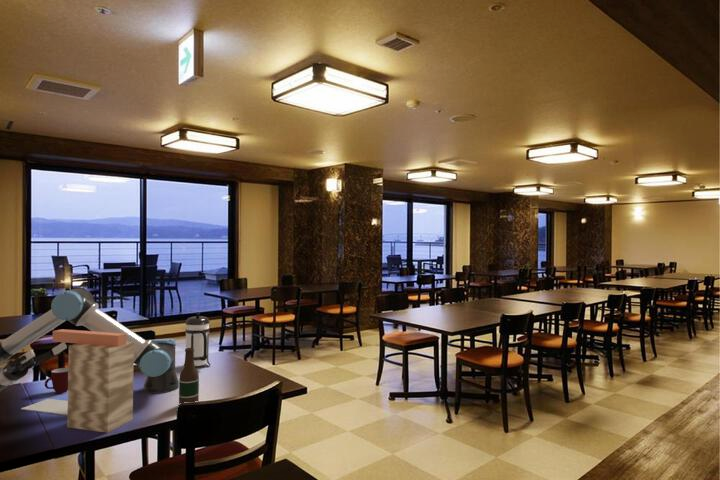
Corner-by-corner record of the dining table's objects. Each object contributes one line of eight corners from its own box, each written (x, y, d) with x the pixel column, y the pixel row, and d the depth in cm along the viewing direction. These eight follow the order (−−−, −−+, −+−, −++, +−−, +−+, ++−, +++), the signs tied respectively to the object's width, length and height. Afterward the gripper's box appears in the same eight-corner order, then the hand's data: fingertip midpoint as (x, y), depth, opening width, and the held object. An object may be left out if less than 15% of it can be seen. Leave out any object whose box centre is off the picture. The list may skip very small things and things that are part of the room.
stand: (132, 419, 170) (133, 342, 171) (107, 432, 159) (109, 349, 159) (94, 415, 175) (95, 339, 175) (67, 427, 163) (68, 345, 163)
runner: (105, 406, 184) (105, 405, 184) (81, 417, 173) (81, 416, 173) (48, 399, 191) (48, 398, 191) (20, 409, 180) (20, 408, 180)
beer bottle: (186, 410, 181) (187, 351, 181) (174, 406, 185) (175, 348, 185) (202, 404, 188) (203, 347, 188) (190, 400, 192) (191, 345, 192)
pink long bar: (126, 344, 167) (126, 333, 167) (117, 346, 163) (118, 335, 163) (61, 339, 174) (62, 329, 174) (52, 341, 170) (52, 331, 170)
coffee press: (175, 369, 238) (176, 314, 239) (191, 362, 254) (192, 309, 255) (205, 371, 236) (206, 315, 236) (219, 363, 251) (220, 311, 252)
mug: (49, 398, 193) (49, 375, 193) (41, 394, 198) (41, 372, 198) (75, 391, 202) (75, 369, 202) (67, 388, 207) (67, 366, 207)
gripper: (45, 372, 189) (80, 350, 184) (-18, 390, 165) (21, 365, 160) (38, 356, 190) (73, 333, 185) (-25, 372, 166) (14, 347, 161)
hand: (49, 348), depth 173 cm, fingers open, 13 cm apart
